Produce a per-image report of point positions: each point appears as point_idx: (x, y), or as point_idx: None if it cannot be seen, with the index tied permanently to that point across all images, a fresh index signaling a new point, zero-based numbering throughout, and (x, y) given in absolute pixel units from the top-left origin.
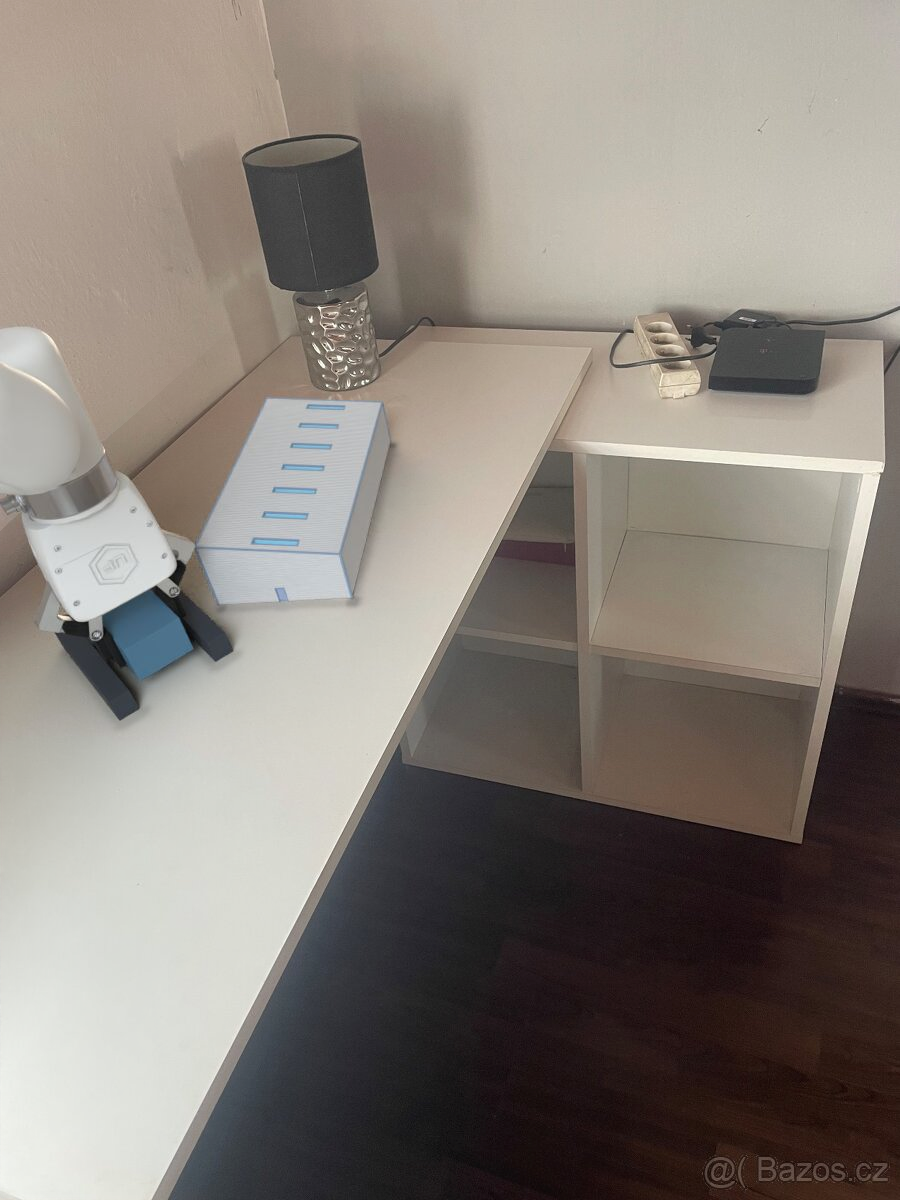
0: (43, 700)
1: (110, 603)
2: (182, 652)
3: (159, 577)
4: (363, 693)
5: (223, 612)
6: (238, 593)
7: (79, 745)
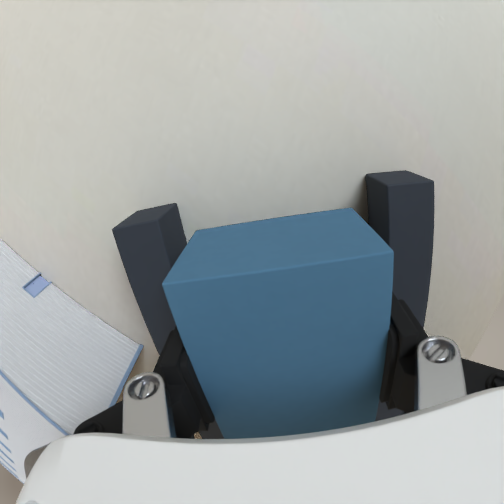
0: (462, 311)
1: (418, 448)
2: (223, 229)
3: (107, 457)
4: (21, 6)
5: (136, 324)
6: (94, 335)
7: (472, 168)
